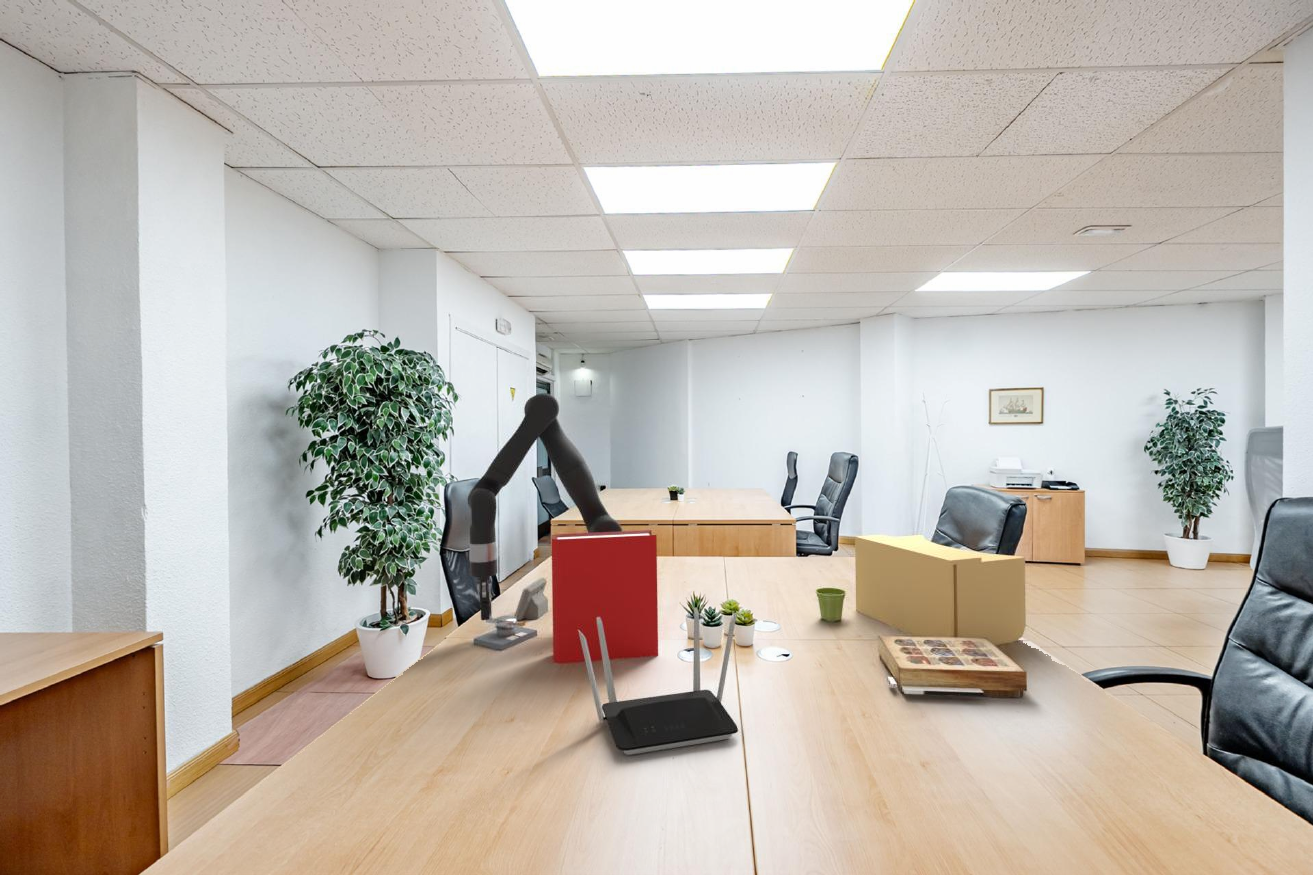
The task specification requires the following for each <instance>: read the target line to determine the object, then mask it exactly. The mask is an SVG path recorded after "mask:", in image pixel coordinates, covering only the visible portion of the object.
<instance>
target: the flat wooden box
mask: <svg viewBox="0 0 1313 875" xmlns="http://www.w3.org/2000/svg"><path fill="white" fill-rule="evenodd" d="M877 644H878V645H877V648H878V649H877V650H878V653H879V656H878V658H879V660H880V662H881V664H882V665H883V667H884V668H888V670H889V671H890V672H891V674H892V676H886V680H887V683H888V684H889V686H890V687H891V688H892V689H893V688H895V689H896V688H897V690H898V691H899V693H900V694H905V695H916V696H917V695H923V696H925V695H926V696H939V697H941V696H942V697H959V696H965V697H966V696H967V697H988V698H1004V699H1005V698H1007V699H1008V698H1015V699H1016V698H1022V697H1023V696H1024V694H1025V693H1024V692H1027V690H1028V688H1027V685H1028V684H1027V683H1028V682H1027V681H1028V679H1027V676H1028V675H1027V671H1026V670H1025V669H1024V668H1023V667H1021V666H1020V665H1019V664H1018V663H1017V662H1016V661H1014V660H1013V659H1012V658H1010V656H1008V655H1007V654H1006V653H1005V652H1003V651H1002V650H1001V649H1000V648H998V647H997V646H996V645H994V644H993V643H991V642H990V641H989V640H988V639H987V638H966V637H916V636H914V635H912V636H911V635H910V636H909V635H908V636H907V635H906V636H903V635H902V636H901V635H900V636H899V635H877Z"/></svg>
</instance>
